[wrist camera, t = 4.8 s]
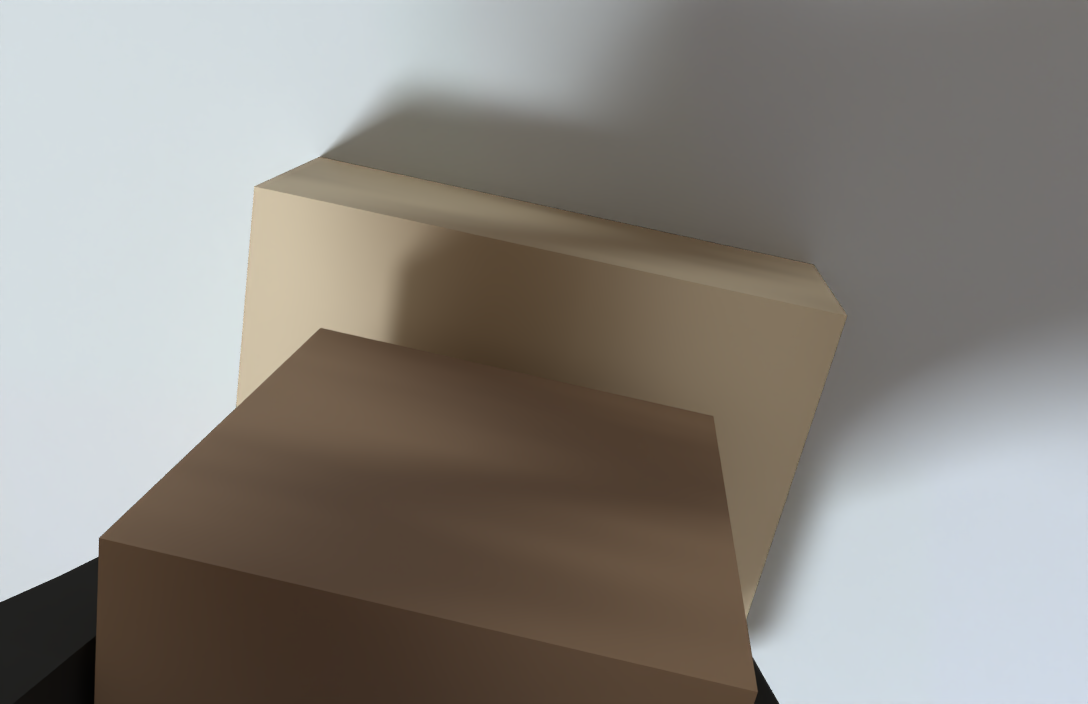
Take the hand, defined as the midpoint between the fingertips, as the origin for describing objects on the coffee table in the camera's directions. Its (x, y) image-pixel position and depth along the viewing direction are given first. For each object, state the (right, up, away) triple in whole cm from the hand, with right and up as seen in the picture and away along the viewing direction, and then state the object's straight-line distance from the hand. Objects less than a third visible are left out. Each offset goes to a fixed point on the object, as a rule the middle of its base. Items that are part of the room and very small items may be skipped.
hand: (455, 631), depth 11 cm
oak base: (+1, +2, +6) cm, 6 cm away
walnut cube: (0, +1, +1) cm, 2 cm away
